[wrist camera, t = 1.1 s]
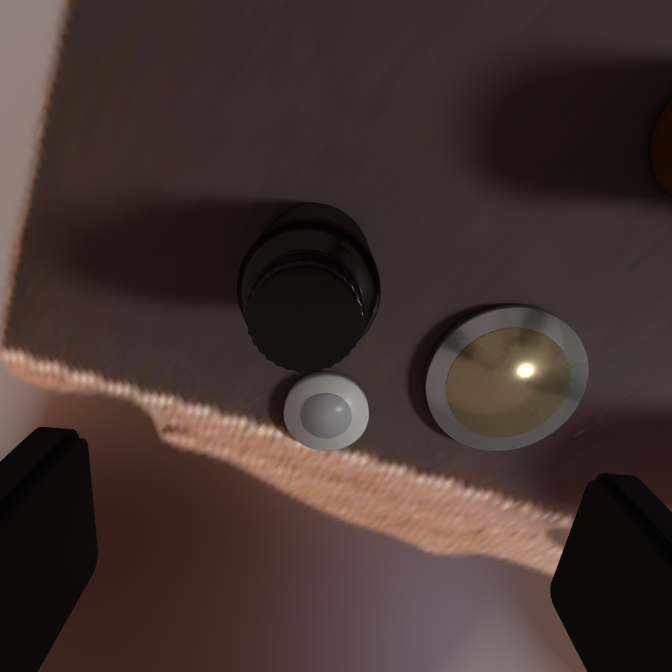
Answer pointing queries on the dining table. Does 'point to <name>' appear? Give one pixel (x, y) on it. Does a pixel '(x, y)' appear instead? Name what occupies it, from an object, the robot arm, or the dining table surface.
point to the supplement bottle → (309, 288)
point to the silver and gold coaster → (505, 377)
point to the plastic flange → (326, 411)
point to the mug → (663, 148)
